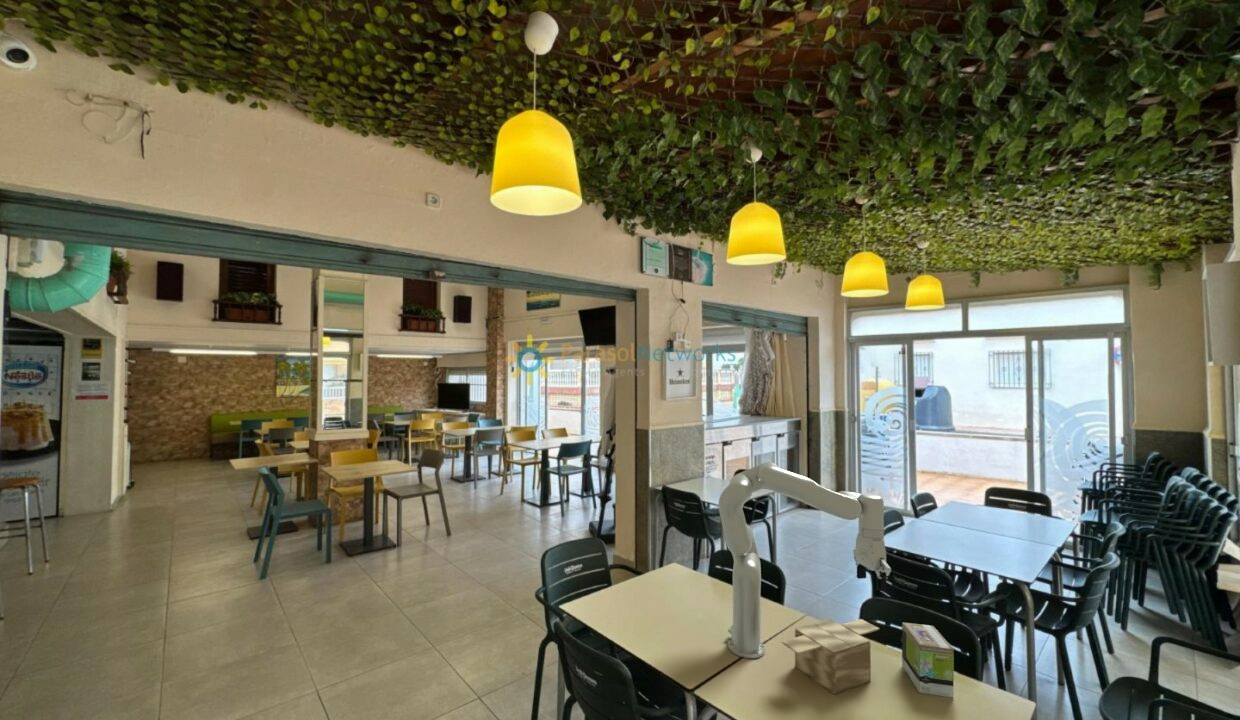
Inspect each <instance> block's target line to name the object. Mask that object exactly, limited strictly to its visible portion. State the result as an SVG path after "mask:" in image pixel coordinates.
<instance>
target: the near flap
mask: <svg viewBox="0 0 1240 720" xmlns="http://www.w3.org/2000/svg"><path fill="white" fill-rule="evenodd" d="M795 630H796V631H798V632H800V633H801V634H803V635H802V636H799V637H795V636H794V637H792V638H788V639H785V640H782V641H781V644H783V645H784V646H785V647H787V648H788V649H790V650H791V651H793V652H794V653H795V652H796V653H797V654H801V653H804V652H808V651H811V650H814V649H818V648H821V646H822V647H823V648H825V649H826V650H828V651H830V652H831V653H833V654H835V653H838V652H841V651H845V650H848V649H851V648H852V646H850V645H848V644H846V643H845V642H843V641H841V640H840V639H838V638H836V637H835V636H833V635H831V634H830V633H828V632H826V631H825V630H823V629H821V628H819V627H818V626H816V625H814V623H812V624H808V625H804V626H801V627H797V628H795Z"/></svg>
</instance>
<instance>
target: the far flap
mask: <svg viewBox="0 0 1240 720" xmlns="http://www.w3.org/2000/svg"><path fill="white" fill-rule="evenodd" d="M813 624H814V625H816V626H818V627H819V628H821V629H823V630H825V631H826V632H828V633H830V634H831V635H833V636H835V637H836V638H838V639H840V640H841V641H843V642H845V643H846V644H848V645H850V646H852V648H854V647H857V646H860V645H864V644H867V643H870V640H869V639H867V638H865V637H864V636H863V635H867V634H871V633H873V632H877V631H880V627H878V626H876V625H874V624H872V623H869V622H868V621H866V620H864V619H862V618H859V619H855V620H853V621H849V622H845V623H842V624H840V623H838V622H836V621H835V620H833V619H831V618H830V619H826V620H822V621H818V622H814V623H813ZM870 644H871V643H870Z"/></svg>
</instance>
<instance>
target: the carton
mask: <svg viewBox="0 0 1240 720" xmlns="http://www.w3.org/2000/svg"><path fill="white" fill-rule="evenodd" d="M802 635H803V634H801V633H800V632H798V631H796V629H795V630H794V638H795V637H799V636H802ZM794 667H795V668H796V669H798V670H800V671H801V672H802V673H804V674H805V675H806V676H808V678H810V679H812V680H813V681H815V682H816V683H817V684H819V686H821V687H823V688H825V689H826V690H827V691H829V692H830V693H831V694H833V695H837V694H840V693H843V692H847V691H848V690H851V689H855V688H857V687H859V686H863V685H865V684H866V685H867V684H869V683H871V680H872V679H871V677H872V676H871V675H872V674H871V673H872V672H871V669H872V666H871V643H867V644H864V645H860V646H857V647H854V648H851V649H848V650H845V651H841V652H838V653H835V654H833V653H831V652H830V651H828V650H826V649H825V648H823V647H822V646H821V648H818V649H814V650H811V651H808V652H804V653H801V654H797V653H796V652H794Z"/></svg>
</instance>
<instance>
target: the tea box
mask: <svg viewBox="0 0 1240 720" xmlns="http://www.w3.org/2000/svg"><path fill="white" fill-rule="evenodd" d="M901 635H902V637H901V666H902V668H903V669H904V671H905V672H906V674H907V676H909V678H910V680H911V682H912V683H913V685H914V686H915V687H916V689H917V691H918V692H919V693H921V694H927V695H934V696H938V697H939V696H940V697H941V696H942V697H949V698H953V697H954V690H955V689H954V687H955V686H954V680H955V679H954V677H955V676H954V675H955V674H954V673H955V672H954V668H955V667H954V666H955V664H954V663H955V661H954V660H955V659H954V656H955V655H954V651H955V650H954V648H953V647H952V645H951V644H950V643H949V642H948V641H947V640H946V639H945V637H943V635H942V634H941V633H940V632H939V630H938V629H936V627H935V626H934V625H929V624H919V623H911V622H905V621H904V622H902V624H901Z"/></svg>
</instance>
